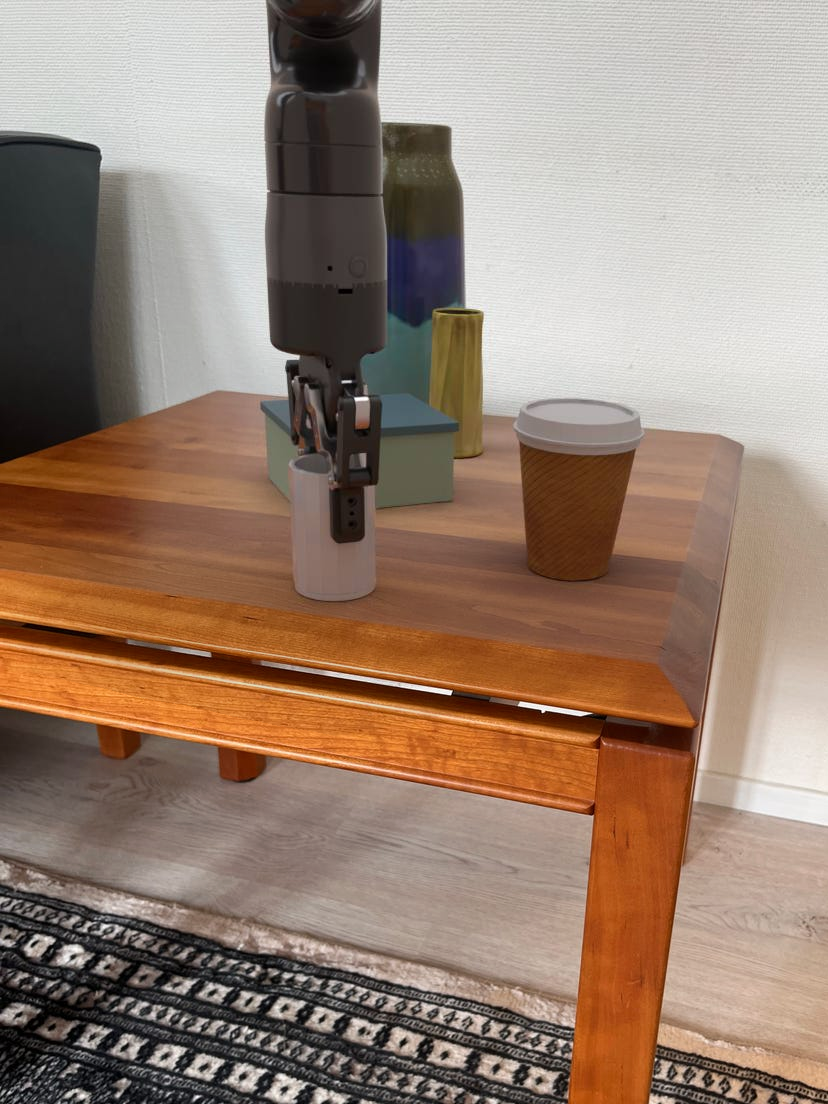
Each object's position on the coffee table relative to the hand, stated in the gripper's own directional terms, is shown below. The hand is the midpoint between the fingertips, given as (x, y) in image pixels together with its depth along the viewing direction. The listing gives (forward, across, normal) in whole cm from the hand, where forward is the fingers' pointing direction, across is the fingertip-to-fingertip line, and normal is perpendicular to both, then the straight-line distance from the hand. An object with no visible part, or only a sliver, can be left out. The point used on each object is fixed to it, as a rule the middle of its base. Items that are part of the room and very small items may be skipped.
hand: (333, 525), depth 71 cm
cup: (+5, 0, 0) cm, 5 cm away
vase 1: (+5, -49, +24) cm, 55 cm away
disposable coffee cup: (+5, +2, +18) cm, 19 cm away
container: (+5, -22, +9) cm, 24 cm away
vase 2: (+5, -32, +23) cm, 40 cm away
